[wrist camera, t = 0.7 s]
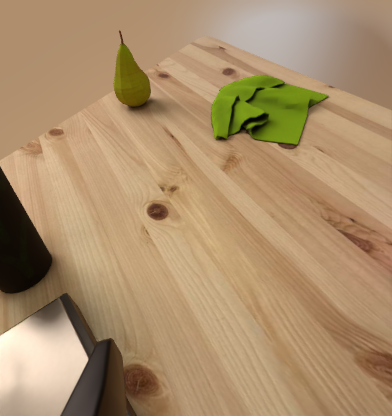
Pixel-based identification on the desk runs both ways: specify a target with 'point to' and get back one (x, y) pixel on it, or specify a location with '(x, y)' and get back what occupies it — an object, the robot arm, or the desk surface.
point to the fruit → (130, 79)
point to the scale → (44, 360)
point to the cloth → (263, 109)
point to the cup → (19, 244)
